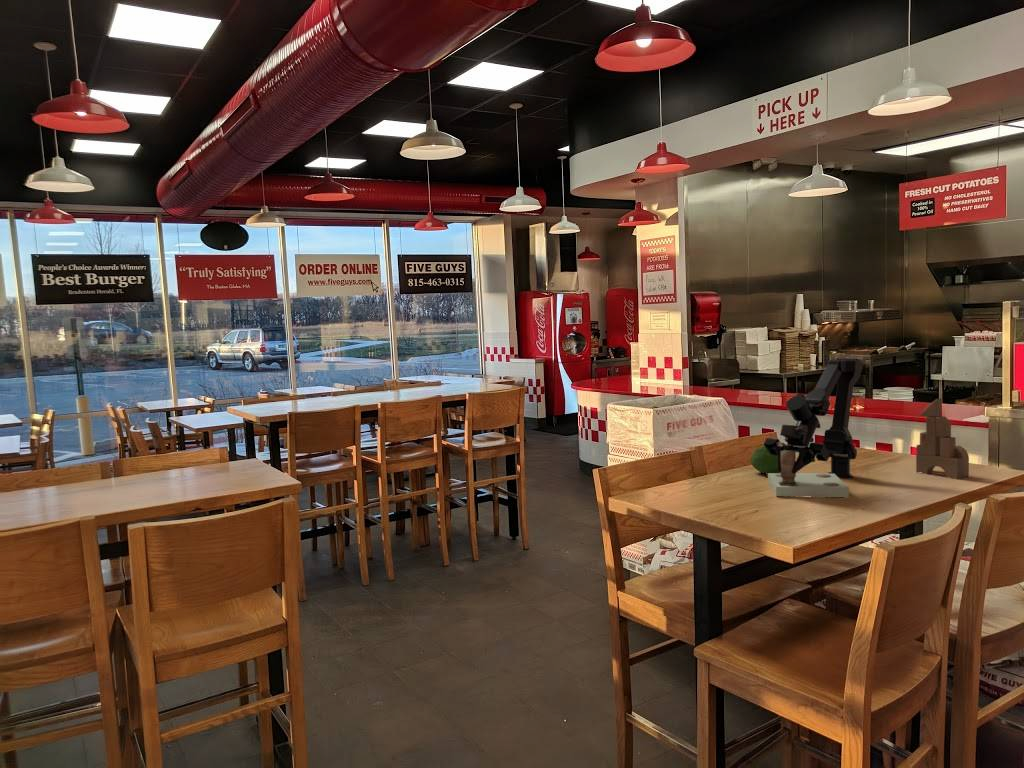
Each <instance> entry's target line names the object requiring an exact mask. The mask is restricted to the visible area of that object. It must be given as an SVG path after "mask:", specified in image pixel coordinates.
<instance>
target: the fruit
mask: <svg viewBox="0 0 1024 768" xmlns="http://www.w3.org/2000/svg"><path fill="white" fill-rule="evenodd" d="M749 461H750V463H751V465H752V467H753V468H754V469H755V470H757V472H759V473H762V474H764V473H781V471H780V472H779V471H778V456H775V455H771V454H769V452H768V450H767V449H766V447H765V446H764V444H762V445H760V446H759V447H757V448H755V450H754V451H753V452H752V453H751V456H750V460H749Z"/></svg>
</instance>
